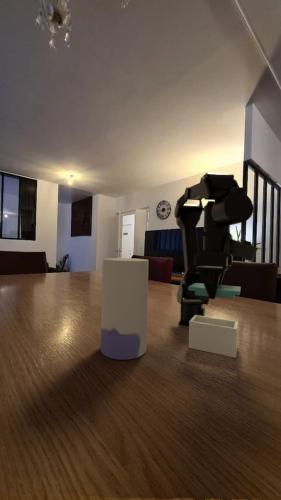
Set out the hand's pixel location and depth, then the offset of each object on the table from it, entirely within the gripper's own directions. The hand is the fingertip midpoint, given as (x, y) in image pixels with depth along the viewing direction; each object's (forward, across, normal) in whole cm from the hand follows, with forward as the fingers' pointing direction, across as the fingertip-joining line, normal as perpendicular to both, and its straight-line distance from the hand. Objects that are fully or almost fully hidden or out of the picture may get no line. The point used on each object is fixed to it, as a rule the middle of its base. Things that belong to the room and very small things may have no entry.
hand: (214, 296), depth 52 cm
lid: (-1, 0, 0) cm, 1 cm away
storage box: (+12, 0, 0) cm, 12 cm away
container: (+12, -11, +18) cm, 24 cm away
